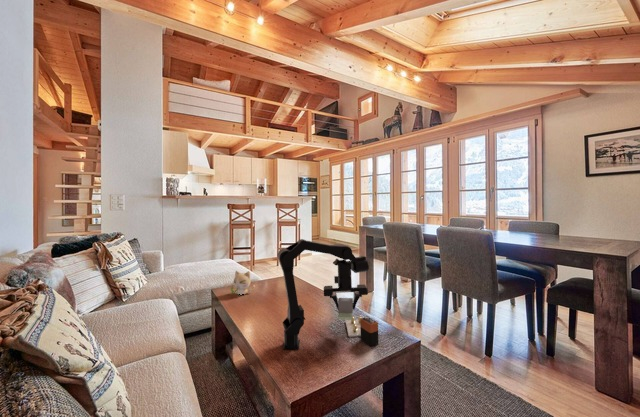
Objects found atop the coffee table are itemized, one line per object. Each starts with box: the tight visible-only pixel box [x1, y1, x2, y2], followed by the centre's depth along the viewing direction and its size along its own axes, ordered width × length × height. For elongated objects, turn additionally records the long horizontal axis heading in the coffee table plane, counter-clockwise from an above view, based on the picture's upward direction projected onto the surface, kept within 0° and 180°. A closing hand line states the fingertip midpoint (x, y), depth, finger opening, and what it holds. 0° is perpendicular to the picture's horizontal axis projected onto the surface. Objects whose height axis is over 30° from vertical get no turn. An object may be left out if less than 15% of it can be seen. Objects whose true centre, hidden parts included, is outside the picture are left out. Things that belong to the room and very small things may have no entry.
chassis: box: [345, 316, 363, 338], centre depth 122 cm, size 14×10×4 cm
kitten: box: [230, 270, 256, 296], centre depth 172 cm, size 15×10×15 cm
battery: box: [360, 315, 379, 347], centre depth 110 cm, size 4×7×10 cm, turn 28°
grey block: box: [337, 297, 354, 321], centre depth 115 cm, size 12×6×6 cm, turn 170°
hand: (345, 309), depth 115 cm, fingers closed on grey block, 6 cm apart
